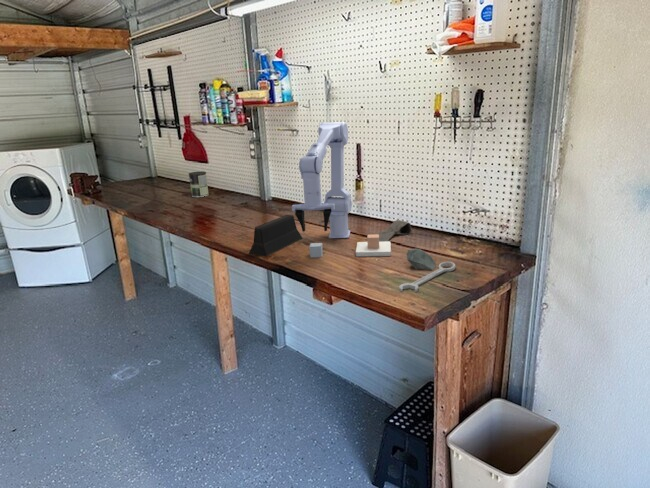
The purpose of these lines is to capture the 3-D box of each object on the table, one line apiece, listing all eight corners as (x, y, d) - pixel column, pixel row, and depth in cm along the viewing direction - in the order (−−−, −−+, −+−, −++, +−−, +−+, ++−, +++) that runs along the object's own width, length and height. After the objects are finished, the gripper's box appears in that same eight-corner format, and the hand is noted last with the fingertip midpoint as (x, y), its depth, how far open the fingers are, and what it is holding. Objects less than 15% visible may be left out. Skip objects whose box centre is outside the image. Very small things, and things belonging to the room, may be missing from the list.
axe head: (379, 241, 173) (360, 236, 180) (381, 253, 175) (362, 248, 182) (416, 221, 184) (396, 217, 192) (417, 233, 186) (398, 229, 194)
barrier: (267, 257, 169) (264, 230, 166) (248, 254, 174) (245, 227, 171) (303, 239, 188) (301, 214, 185) (285, 237, 193) (283, 213, 190)
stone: (440, 263, 156) (411, 251, 159) (443, 252, 154) (414, 241, 157) (431, 277, 147) (401, 265, 150) (434, 266, 145) (404, 254, 148)
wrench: (411, 296, 130) (411, 289, 129) (395, 291, 134) (395, 284, 133) (459, 269, 147) (459, 263, 146) (443, 265, 151) (443, 260, 150)
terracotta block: (368, 245, 170) (367, 234, 168) (379, 245, 169) (379, 234, 168) (367, 248, 166) (367, 237, 165) (379, 248, 165) (378, 237, 164)
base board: (357, 245, 175) (357, 242, 174) (390, 245, 173) (390, 241, 173) (355, 256, 163) (355, 252, 163) (390, 255, 162) (390, 251, 161)
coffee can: (192, 198, 284) (188, 174, 280) (191, 195, 293) (188, 172, 289) (209, 196, 287) (206, 173, 283) (208, 193, 296) (205, 170, 292)
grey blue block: (311, 253, 169) (311, 243, 168) (322, 253, 169) (322, 242, 167) (310, 257, 165) (309, 246, 164) (321, 257, 165) (320, 246, 164)
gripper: (289, 195, 157) (292, 234, 161) (332, 193, 156) (334, 233, 160) (292, 190, 164) (295, 228, 168) (334, 189, 162) (336, 227, 166)
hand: (314, 230), depth 164 cm, fingers open, 7 cm apart
